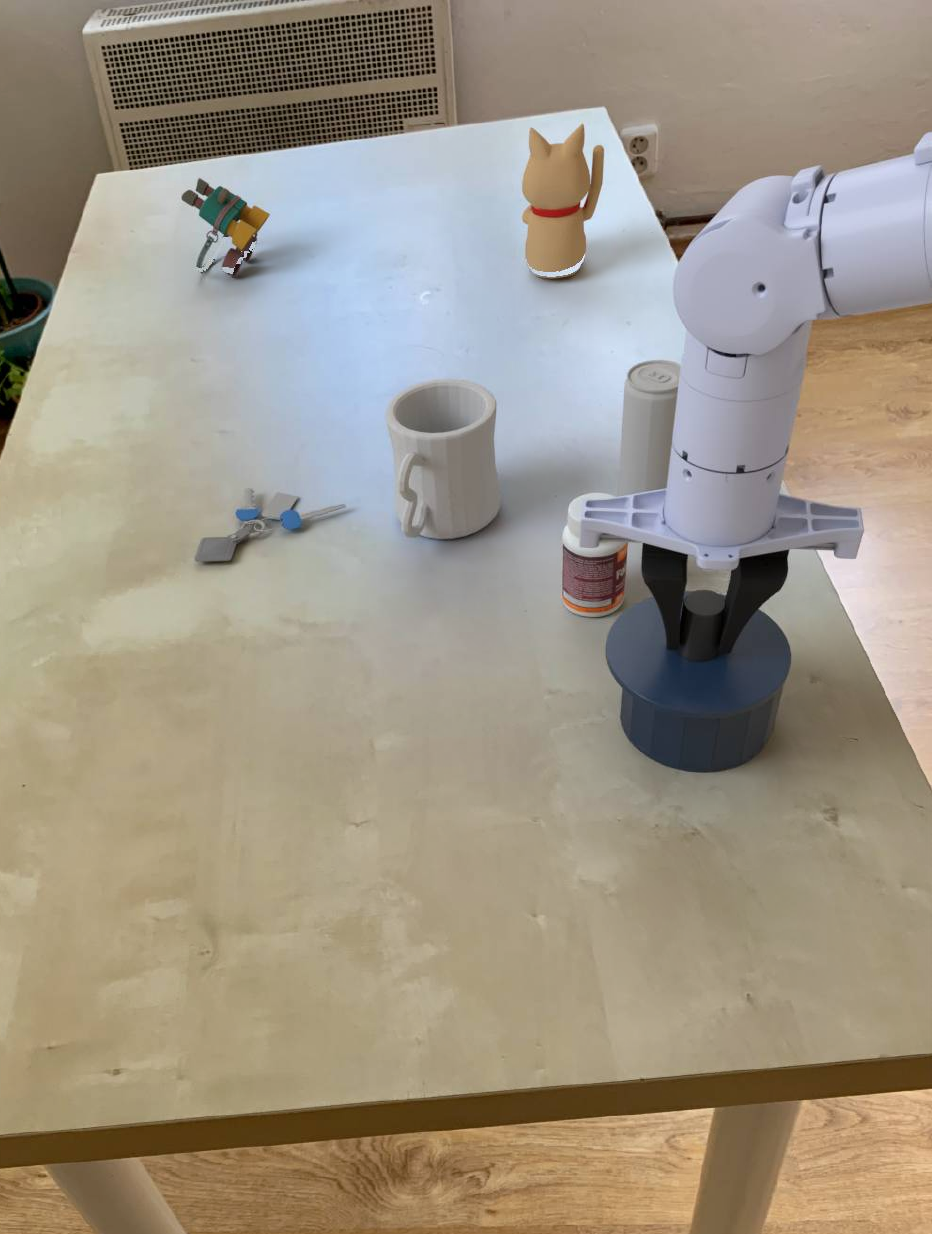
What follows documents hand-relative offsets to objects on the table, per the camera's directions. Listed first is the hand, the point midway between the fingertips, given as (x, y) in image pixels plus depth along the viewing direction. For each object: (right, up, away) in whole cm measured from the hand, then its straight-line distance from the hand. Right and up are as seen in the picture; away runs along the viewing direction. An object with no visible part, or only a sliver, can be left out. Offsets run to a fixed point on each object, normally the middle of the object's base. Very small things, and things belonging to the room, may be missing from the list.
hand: (697, 640), depth 65 cm
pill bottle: (-2, +5, +19) cm, 20 cm away
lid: (0, -1, +1) cm, 1 cm away
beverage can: (+3, +14, +26) cm, 29 cm away
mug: (-14, +13, +28) cm, 33 cm away
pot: (+3, -4, +9) cm, 10 cm away
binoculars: (-36, +52, +67) cm, 92 cm away
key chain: (-30, +14, +31) cm, 45 cm away
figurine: (+2, +48, +58) cm, 75 cm away
